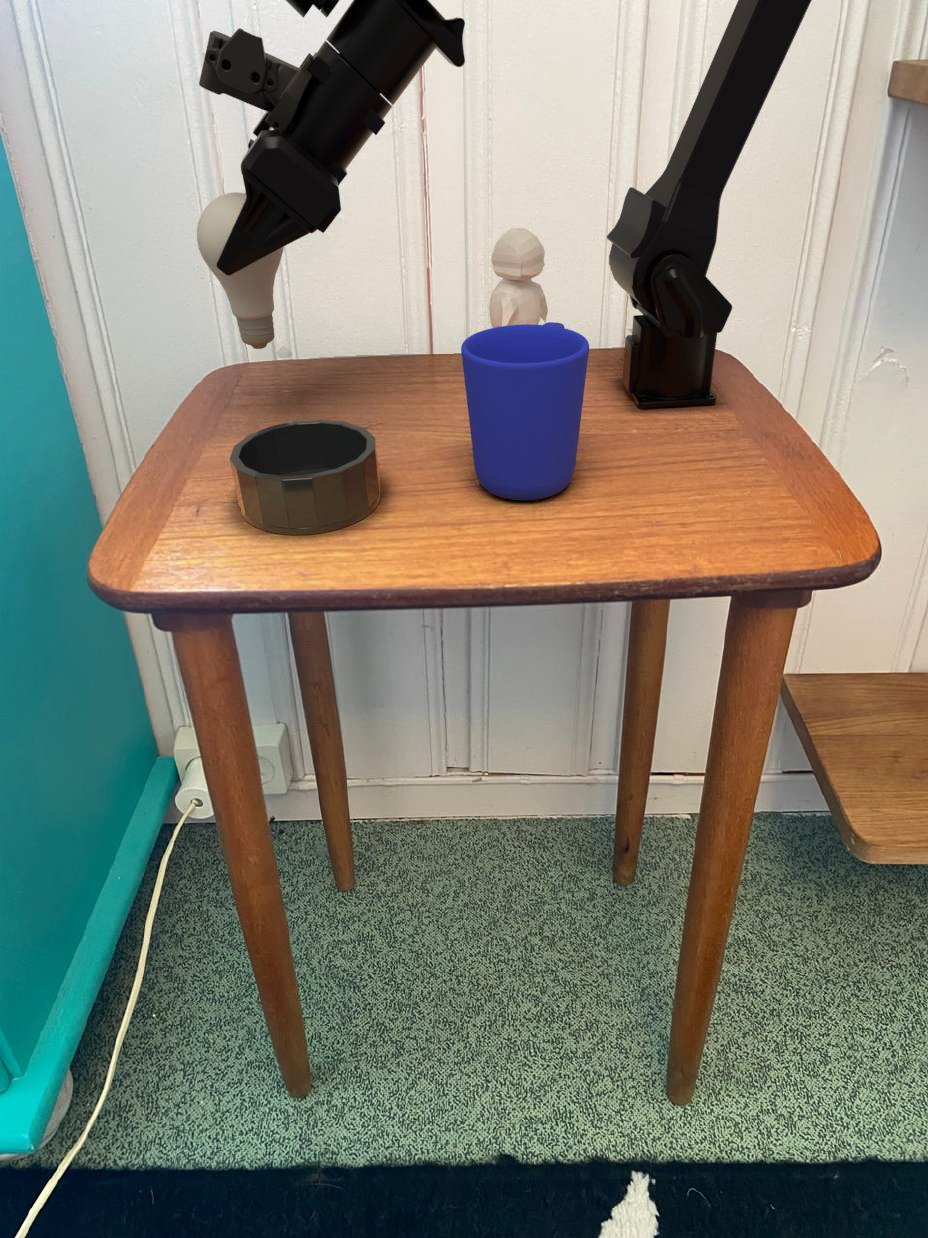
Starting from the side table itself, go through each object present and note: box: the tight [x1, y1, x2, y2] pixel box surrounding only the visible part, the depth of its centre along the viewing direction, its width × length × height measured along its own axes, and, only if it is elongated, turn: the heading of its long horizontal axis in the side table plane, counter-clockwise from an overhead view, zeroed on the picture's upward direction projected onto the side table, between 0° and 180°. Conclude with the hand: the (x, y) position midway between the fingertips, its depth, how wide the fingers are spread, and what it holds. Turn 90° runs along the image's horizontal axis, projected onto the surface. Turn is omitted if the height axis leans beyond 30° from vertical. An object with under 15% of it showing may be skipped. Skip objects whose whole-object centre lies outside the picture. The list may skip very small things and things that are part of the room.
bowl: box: [229, 419, 381, 536], centre depth 62 cm, size 10×10×4 cm
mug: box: [460, 321, 590, 501], centre depth 63 cm, size 8×12×10 cm
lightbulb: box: [196, 192, 285, 350], centre depth 67 cm, size 6×6×11 cm
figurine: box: [488, 227, 549, 328], centre depth 81 cm, size 8×5×12 cm, turn 146°
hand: (225, 260), depth 66 cm, fingers closed on lightbulb, 6 cm apart
